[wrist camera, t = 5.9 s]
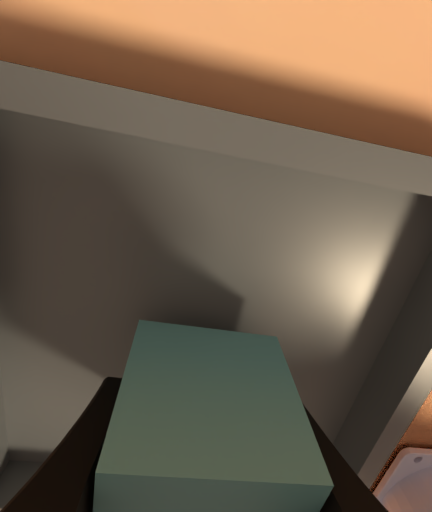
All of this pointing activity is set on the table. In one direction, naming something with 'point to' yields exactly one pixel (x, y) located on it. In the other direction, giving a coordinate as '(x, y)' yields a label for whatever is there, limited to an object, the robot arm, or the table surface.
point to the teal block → (208, 428)
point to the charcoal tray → (204, 257)
